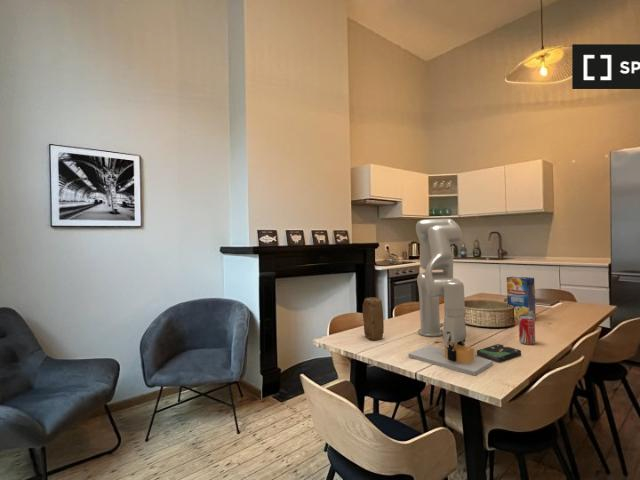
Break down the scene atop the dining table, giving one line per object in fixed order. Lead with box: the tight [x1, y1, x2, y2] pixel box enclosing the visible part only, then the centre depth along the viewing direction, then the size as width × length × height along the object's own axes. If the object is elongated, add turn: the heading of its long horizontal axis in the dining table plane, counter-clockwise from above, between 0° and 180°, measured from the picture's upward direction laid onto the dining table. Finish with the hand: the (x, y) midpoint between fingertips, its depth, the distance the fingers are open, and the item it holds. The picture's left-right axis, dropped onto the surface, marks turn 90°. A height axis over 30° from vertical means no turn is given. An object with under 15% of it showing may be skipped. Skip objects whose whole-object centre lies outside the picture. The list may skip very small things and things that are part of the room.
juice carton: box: [506, 275, 537, 321], centre depth 199 cm, size 12×8×24 cm, turn 30°
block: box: [362, 296, 385, 341], centre depth 172 cm, size 11×8×20 cm
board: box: [407, 344, 494, 377], centre depth 137 cm, size 15×28×2 cm, turn 41°
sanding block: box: [444, 343, 475, 364], centre depth 134 cm, size 6×9×5 cm, turn 41°
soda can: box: [518, 316, 536, 346], centre depth 155 cm, size 6×6×12 cm
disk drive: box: [476, 343, 522, 364], centre depth 141 cm, size 10×3×15 cm
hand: (456, 357), depth 135 cm, fingers open, 5 cm apart
